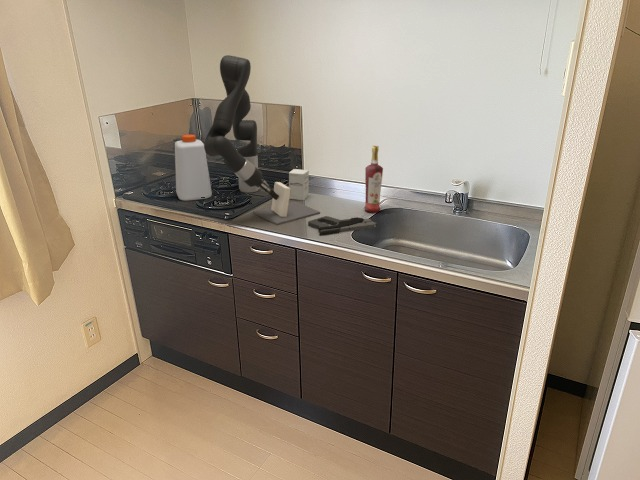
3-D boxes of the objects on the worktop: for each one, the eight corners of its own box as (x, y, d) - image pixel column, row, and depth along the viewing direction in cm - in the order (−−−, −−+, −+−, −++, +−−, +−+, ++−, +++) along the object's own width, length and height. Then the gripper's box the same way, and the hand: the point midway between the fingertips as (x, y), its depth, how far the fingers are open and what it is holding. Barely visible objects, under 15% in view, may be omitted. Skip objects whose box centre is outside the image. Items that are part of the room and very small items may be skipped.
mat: (253, 213, 214) (252, 211, 214) (294, 202, 227) (294, 201, 226) (277, 225, 201) (277, 223, 201) (320, 213, 214) (320, 211, 214)
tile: (271, 209, 215) (274, 182, 211) (277, 209, 216) (280, 182, 212) (281, 216, 207) (285, 188, 203) (287, 216, 208) (291, 188, 204)
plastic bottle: (213, 198, 231) (208, 137, 220) (179, 202, 226) (173, 140, 215) (207, 189, 244) (202, 131, 233) (175, 192, 239) (169, 133, 228)
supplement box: (288, 199, 232) (288, 172, 227) (294, 194, 238) (293, 168, 233) (303, 200, 230) (303, 173, 225) (309, 196, 236) (309, 169, 231)
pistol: (305, 218, 203) (318, 231, 190) (363, 211, 212) (379, 223, 199) (305, 223, 204) (318, 237, 191) (362, 216, 212) (378, 228, 200)
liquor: (368, 214, 213) (371, 149, 202) (360, 209, 220) (363, 145, 209) (383, 212, 216) (387, 147, 205) (375, 207, 222) (379, 143, 211)
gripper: (260, 169, 193) (289, 195, 203) (247, 161, 204) (276, 186, 214) (247, 184, 193) (277, 209, 203) (235, 175, 203) (265, 200, 214)
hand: (277, 197), depth 208 cm, fingers closed
